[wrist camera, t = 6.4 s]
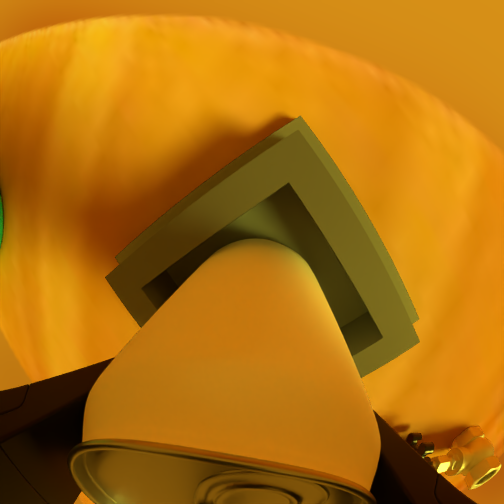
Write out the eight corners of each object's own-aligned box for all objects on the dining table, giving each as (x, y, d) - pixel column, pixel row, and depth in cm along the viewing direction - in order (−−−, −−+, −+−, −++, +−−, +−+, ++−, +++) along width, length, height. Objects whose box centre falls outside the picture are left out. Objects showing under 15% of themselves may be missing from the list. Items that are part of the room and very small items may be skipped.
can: (342, 282, 14) (465, 480, 2) (271, 368, 15) (259, 568, 4) (238, 210, 14) (69, 307, 2) (175, 309, 15) (45, 481, 3)
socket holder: (242, 403, 18) (232, 443, 14) (123, 253, 16) (84, 270, 12) (413, 312, 15) (440, 343, 11) (299, 120, 13) (303, 96, 10)
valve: (493, 412, 16) (413, 417, 17) (518, 451, 10) (437, 475, 10) (458, 454, 18) (376, 462, 18) (475, 493, 11) (387, 515, 12)
